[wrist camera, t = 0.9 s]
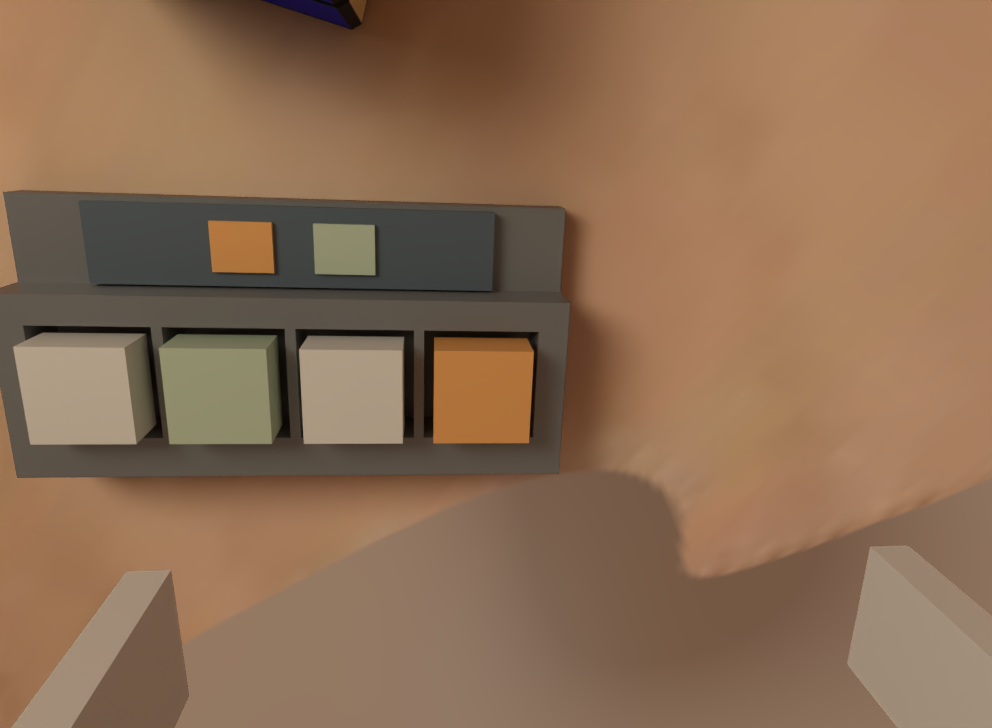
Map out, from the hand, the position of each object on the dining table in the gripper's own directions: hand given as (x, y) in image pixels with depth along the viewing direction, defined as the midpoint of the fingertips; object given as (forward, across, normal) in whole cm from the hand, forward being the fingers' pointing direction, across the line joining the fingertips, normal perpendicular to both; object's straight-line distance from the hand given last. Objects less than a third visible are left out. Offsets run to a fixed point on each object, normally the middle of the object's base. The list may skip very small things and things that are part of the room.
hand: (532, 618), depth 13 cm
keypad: (+19, -8, +1) cm, 21 cm away
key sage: (+16, -10, -1) cm, 19 cm away
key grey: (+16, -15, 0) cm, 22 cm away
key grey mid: (+16, -5, -1) cm, 17 cm away
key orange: (+16, 0, -1) cm, 16 cm away
